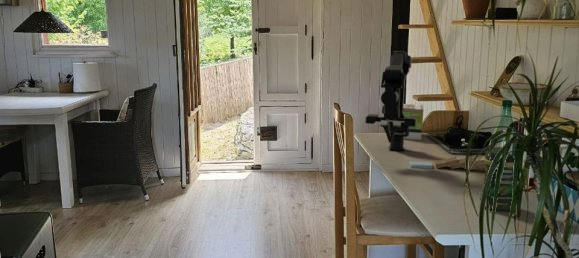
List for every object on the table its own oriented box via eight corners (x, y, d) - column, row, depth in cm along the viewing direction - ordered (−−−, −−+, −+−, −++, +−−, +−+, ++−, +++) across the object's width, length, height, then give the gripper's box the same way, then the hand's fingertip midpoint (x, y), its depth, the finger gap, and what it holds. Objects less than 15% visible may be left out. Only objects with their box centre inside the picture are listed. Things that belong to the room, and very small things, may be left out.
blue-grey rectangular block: (409, 161, 212) (430, 162, 210) (409, 165, 212) (430, 166, 211) (410, 164, 207) (432, 165, 206) (410, 168, 207) (432, 169, 206)
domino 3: (450, 161, 210) (472, 156, 206) (452, 165, 210) (473, 160, 207) (450, 165, 205) (471, 160, 202) (451, 169, 205) (473, 164, 202)
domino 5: (470, 164, 209) (492, 165, 208) (469, 168, 209) (491, 169, 208) (472, 167, 204) (494, 168, 203) (472, 172, 204) (494, 173, 203)
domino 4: (465, 162, 208) (487, 159, 204) (466, 165, 208) (488, 163, 205) (464, 166, 203) (486, 163, 200) (465, 170, 204) (487, 167, 200)
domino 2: (435, 161, 210) (456, 156, 208) (436, 165, 211) (457, 160, 209) (435, 164, 206) (456, 159, 204) (436, 168, 206) (458, 163, 204)
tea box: (421, 140, 253) (423, 108, 250) (399, 139, 255) (401, 107, 252) (420, 133, 268) (422, 103, 265) (400, 132, 270) (401, 103, 267)
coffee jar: (483, 210, 161) (488, 149, 157) (477, 202, 169) (482, 143, 165) (517, 212, 160) (523, 151, 156) (510, 203, 168) (515, 144, 164)
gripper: (418, 100, 211) (416, 139, 215) (370, 97, 217) (369, 136, 220) (416, 104, 201) (414, 145, 204) (366, 101, 207) (364, 142, 210)
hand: (390, 142), depth 210 cm, fingers closed
